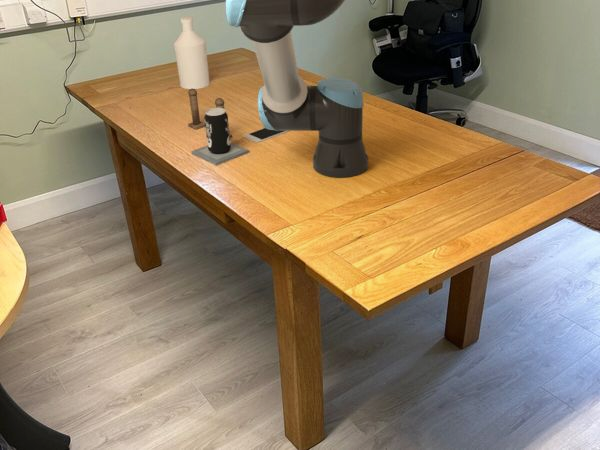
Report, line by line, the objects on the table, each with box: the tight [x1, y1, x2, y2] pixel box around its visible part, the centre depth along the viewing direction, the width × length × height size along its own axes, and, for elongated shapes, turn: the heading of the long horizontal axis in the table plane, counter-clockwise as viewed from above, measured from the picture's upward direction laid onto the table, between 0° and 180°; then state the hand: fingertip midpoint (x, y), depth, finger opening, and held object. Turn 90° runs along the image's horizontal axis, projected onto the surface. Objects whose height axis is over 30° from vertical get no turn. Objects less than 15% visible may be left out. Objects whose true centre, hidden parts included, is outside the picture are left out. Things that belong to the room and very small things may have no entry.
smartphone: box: [243, 127, 290, 144], centre depth 184 cm, size 7×15×1 cm, turn 132°
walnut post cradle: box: [187, 88, 233, 139], centre depth 183 cm, size 18×4×13 cm, turn 44°
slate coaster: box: [190, 141, 250, 166], centre depth 171 cm, size 12×12×1 cm
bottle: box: [173, 16, 211, 90], centre depth 223 cm, size 12×12×25 cm
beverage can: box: [204, 107, 231, 154], centre depth 168 cm, size 7×7×12 cm
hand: (296, 21), depth 161 cm, fingers open, 13 cm apart
